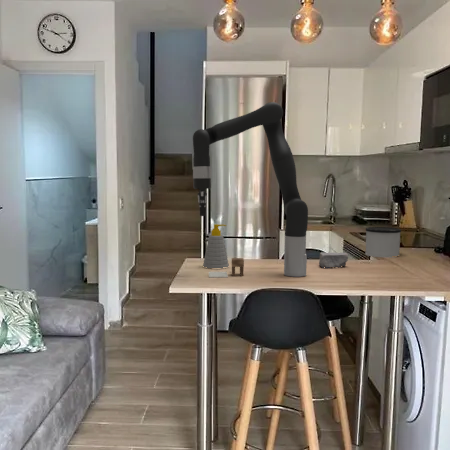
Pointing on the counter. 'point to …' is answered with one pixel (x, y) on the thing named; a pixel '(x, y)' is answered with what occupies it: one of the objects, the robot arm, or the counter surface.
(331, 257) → the decorative stone
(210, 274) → the felt pad
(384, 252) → the container
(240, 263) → the wooden pronged block
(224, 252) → the soap bottle
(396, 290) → the counter surface
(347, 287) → the counter surface
